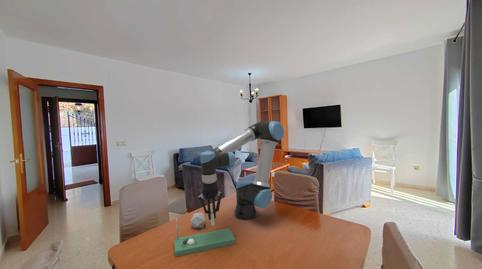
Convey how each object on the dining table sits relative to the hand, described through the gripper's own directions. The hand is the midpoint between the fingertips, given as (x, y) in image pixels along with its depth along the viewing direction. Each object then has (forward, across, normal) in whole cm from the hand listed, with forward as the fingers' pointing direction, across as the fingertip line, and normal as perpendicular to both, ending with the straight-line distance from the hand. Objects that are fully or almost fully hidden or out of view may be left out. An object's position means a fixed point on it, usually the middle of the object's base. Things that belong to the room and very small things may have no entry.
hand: (212, 224), depth 111 cm
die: (+10, +6, -19) cm, 22 cm away
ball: (+7, +12, +1) cm, 14 cm away
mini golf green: (+9, +5, 0) cm, 10 cm away
